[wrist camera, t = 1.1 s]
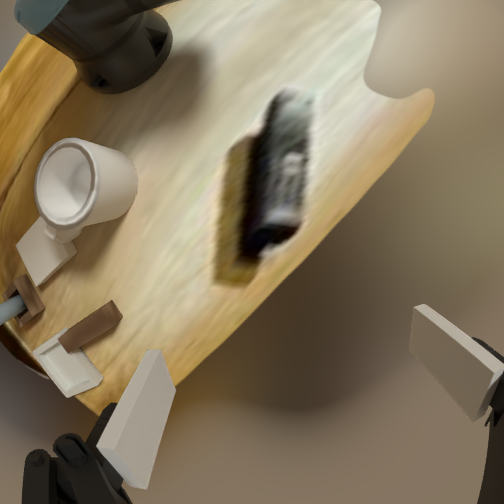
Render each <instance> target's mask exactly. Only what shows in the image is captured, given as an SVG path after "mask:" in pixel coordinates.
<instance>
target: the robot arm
mask: <svg viewBox="0 0 504 504" xmlns="http://www.w3.org/2000/svg"><path fill="white" fill-rule="evenodd" d="M176 1H180V0H17V1H16V4H15V8H14V9H15V10H14V15H15V19H16V20H17V22H18V23H20V24H21V25H22V26H23V27H24V28H26V29H27V30H28V32H29V33H30V34H32V35H35V36H37V37H39V38H40V39H42V40H43V41H45V42H46V43H48V44H50V45H51V46H53V47H54V48H56V49H57V50H59V51H60V52H62V53H63V54H65V55H66V56H68V57H69V58H71V59H72V60H73V62H74V64H75V66H76V68H77V71H78V73H79V75H80V77H81V79H82V80H83V81H84V83H85V84H86V85H88V86H89V87H91V88H92V89H94V90H95V91H97V92H100V93H105V94H115V93H121V92H124V91H127V90H130V89H132V88H134V87H136V86H138V85H140V84H142V83H143V82H145V81H146V80H147V79H149V78H150V77H151V76H152V75H153V74H154V73H156V72H157V70H158V69H159V68H160V67H161V66H162V65H163V63H164V62H165V60H166V59H167V57H168V55H169V53H170V50H171V47H172V41H173V37H172V32H171V29H170V27H169V25H168V23H167V21H166V20H165V19H164V17H163V16H162V15H160V14H159V13H157V12H156V11H154V10H152V9H154V8H157V7H160V6H163V5H166V4H169V3H173V2H176ZM409 351H410V352H411V353H412V354H413V355H414V356H415V357H416V358H417V359H418V361H419V362H420V363H421V364H422V365H423V366H424V367H425V368H426V369H427V370H428V371H429V373H430V374H431V375H432V376H433V377H434V378H435V379H436V380H437V381H438V382H439V384H440V385H441V386H442V387H443V388H444V389H445V391H446V392H447V393H448V394H449V395H450V396H451V397H452V399H453V400H454V401H455V402H456V403H457V404H458V406H459V407H460V408H461V409H462V410H463V411H464V413H465V414H466V415H467V416H468V417H469V418H470V420H471V421H472V422H474V421H476V420H477V419H479V418H480V417H482V416H483V415H485V413H486V411H487V409H488V406H489V405H490V406H491V407H492V408H493V409H492V411H491V413H490V415H489V417H488V419H487V421H486V423H485V426H487V424H488V422H489V421H490V430H489V441H488V450H487V458H486V464H485V470H484V476H483V481H482V486H481V490H480V494H479V498H478V502H477V504H504V357H503V356H501V355H500V354H499V353H497V352H496V351H494V349H492V348H491V347H489V346H488V345H487V344H486V343H485V342H483V341H482V340H480V339H477V338H474V337H472V338H470V337H469V336H468V335H466V334H465V333H464V332H462V331H461V330H460V329H458V328H457V327H456V326H454V325H453V324H451V323H450V322H449V321H448V320H446V319H445V318H444V317H442V316H441V315H439V314H438V313H437V312H435V311H434V310H433V309H431V308H430V307H428V306H427V305H426V304H422V305H419V306H415V307H414V308H413V319H412V328H411V337H410V344H409ZM175 392H176V390H175V387H174V384H173V382H172V379H171V377H170V374H169V371H168V368H167V366H166V363H165V360H164V357H163V354H162V351H161V349H158V350H147V351H146V353H145V355H144V357H143V358H142V360H141V362H140V364H139V366H138V367H137V369H136V371H135V373H134V375H133V377H132V378H131V380H130V382H129V384H128V386H127V388H126V389H125V391H124V393H123V395H122V397H121V399H120V401H119V403H110V404H109V405H108V406H107V407H106V408H105V409H104V410H103V411H102V413H101V415H100V417H99V419H98V420H97V422H96V425H95V426H94V428H93V429H92V432H91V433H90V435H89V437H88V439H87V441H86V442H85V443H84V442H83V440H82V439H81V437H80V436H78V435H77V434H73V433H68V434H64V435H62V436H60V437H59V438H58V439H57V440H56V441H55V443H54V444H53V451H54V452H55V453H56V454H57V456H58V457H57V458H55V457H51V456H50V455H49V454H48V452H47V451H45V450H43V449H36V450H33V451H32V452H30V453H29V454H28V455H27V457H26V460H25V467H24V476H23V489H22V504H133V503H132V502H131V500H130V498H129V497H128V495H127V493H126V492H125V490H124V489H123V488H122V487H121V484H122V482H123V480H124V481H125V482H126V483H127V484H128V485H129V486H130V487H136V488H143V489H147V487H148V483H149V480H150V476H151V472H152V469H153V465H154V462H155V458H156V455H157V451H158V448H159V445H160V441H161V438H162V434H163V431H164V428H165V424H166V421H167V418H168V414H169V411H170V408H171V405H172V401H173V398H174V395H175Z"/></svg>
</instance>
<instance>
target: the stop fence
mask: <svg viewBox="0 0 504 504" xmlns="http://www.w3.org/2000/svg"><path fill="white" fill-rule="evenodd" d="M122 317H123V316H122V314H121V313H120V311H119V310H118V308H117V307H116V305H115V304H114V302H113V301H112V300H111V301H110V302H108V303H107V304H105V305H104V306H102V307H101V308H99V309H98V310H96V311H95V312H93V313H92V314H90V315H89V316H87V317H86V318H84V319H83V320H81V321H80V322H78V323H77V324H76V325H74V326H73V327H71V328H70V329H68V330H67V331H66V332H65V333H64V334H62V335H61V336H60V337H59V338H58V341H59V342H60V344H61V345H62V346H63V348H64V349H65V351H66V352H67V353H68V354H69V353H70V352H72V351H74V350H76V349H77V348H79V347H81V346H82V345H84V344H86V343H87V342H89V341H91V340H92V339H94V338H96V337H97V336H99V335H101V334H102V333H104V332H106V331H108V330H109V329H111V328H113V327H114V325H115V324H116V323H117V322H118V321H119V320H120V319H121V318H122Z"/></svg>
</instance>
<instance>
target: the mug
mask: <svg viewBox="0 0 504 504" xmlns="http://www.w3.org/2000/svg"><path fill="white" fill-rule="evenodd" d="M137 190H138V175H137V170H136V168H135V166H134V164H133V162H132V160H131V159H130V158H129V157H128V156H127V155H126V154H125V153H122V152H120V151H117V150H114V149H111V148H108V147H105V146H101V145H98V144H95V143H92V142H88V141H85V140H82V139H78V138H64V139H62V140H60V141H58V142H56V143H54V144H53V145H52V146H51V147H50V148H49V149H48V150H47V151H46V152H45V154H44V156H43V157H42V159H41V161H40V163H39V165H38V168H37V171H36V174H35V179H34V197H35V204H36V206H37V209H38V211H39V214H40V216H41V217H42V218H43V219H44V221H45V222H46V223H47V224H46V227H45V229H44V232H45V233H46V234H47V235H48V236H49V237H50V238H51V239H52V240H54V241H56V242H57V243H59V244H62V243H66V242H70V241H71V240H73V239H74V238H76V237H77V236H79V235H80V234H81V231H82V229H83V227H84V226H88V225H92V224H97V223H101V222H106V221H110V220H113V219H117V218H119V217H120V216H122V215H123V214H125V213H126V212H127V211H128V209H129V208H130V207H131V205H132V204H133V202H134V200H135V197H136V194H137Z"/></svg>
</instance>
